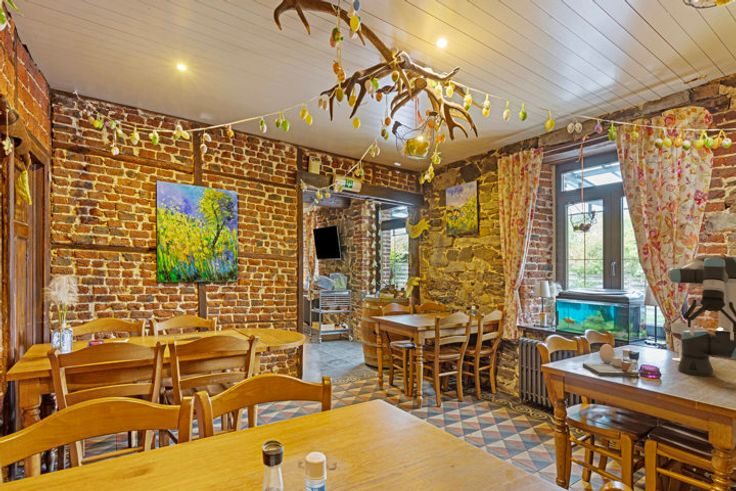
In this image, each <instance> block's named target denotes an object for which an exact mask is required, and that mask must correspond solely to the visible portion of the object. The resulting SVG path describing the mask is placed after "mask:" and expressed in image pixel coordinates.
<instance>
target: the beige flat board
mask: <svg viewBox="0 0 736 491" xmlns="http://www.w3.org/2000/svg"><path fill="white" fill-rule="evenodd" d="M582 367H583V368H584V369H586V370H588V371H590V372H592V373H594V374H595V375H597V376H599V377H621V378H622V377H623V378H624V377H625V378H626V377H627V378H630V377H629V376H631V375H634V374H637V373H638V372H637V373H634V374H633V373H630V372H627V371H625V370H623V369H622V366H615V365H612V363H610V364H606V363H604V362H603V363H601V362H600V363H598V362H596V363H594V362H593V363H592V362H582Z"/></svg>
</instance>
